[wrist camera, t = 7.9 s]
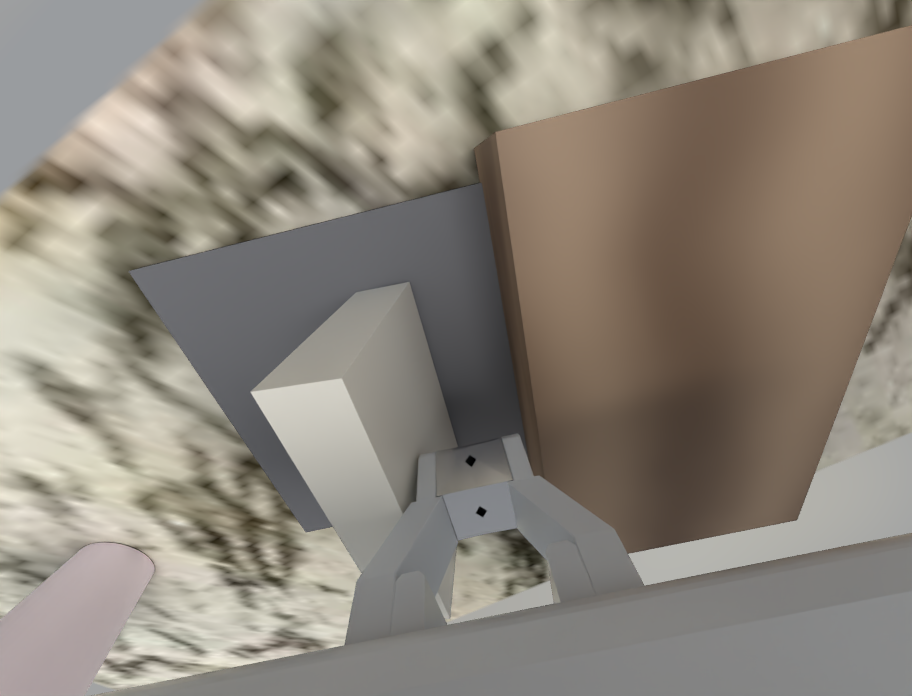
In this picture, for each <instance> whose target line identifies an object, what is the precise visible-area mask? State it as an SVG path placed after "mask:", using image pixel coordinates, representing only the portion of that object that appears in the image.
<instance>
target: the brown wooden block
mask: <svg viewBox="0 0 912 696" xmlns="http://www.w3.org/2000/svg"><path fill="white" fill-rule="evenodd" d="M474 152H475V157H476V163H477V169H478V175H479V181H480V183H482V187H483V193H484V198H485V204H486V210H487V216H488V222H489V228H490V234H491V240H492V246H493V252H494V258H495V264H496V270H497V276H498V281H499V287H500V293H501V299H502V305H503V311H504V317H505V323H506V329H507V335H508V341H509V347H510V353H511V358H512V364H513V370H514V376H515V382H516V388H517V394H518V400H519V406H520V412H521V418H522V424H523V430H524V435H525V441H526V447H527V453H528V459H529V463H530V466H531V469H532V472H533V475H534V476H538V475H540V476H541V477H542V478H544V479H545V480H547V481H548V482H549V483H551V484H552V485H554V486H555V487H556V488H558V489H559V490H561V491H562V492H563V493H565V494H566V495H568V496H569V497H570V498H572V499H573V500H575V501H576V502H577V503H579V504H580V505H582V506H583V507H584V508H586V509H587V510H589V511H590V512H591V513H593V514H594V515H596V516H597V517H598V518H600V519H601V520H603V521H604V522H605V523H607V524H608V525H610V526H611V527H612V528H614V529H615V531H616V533H617V535H618V536H619V538H620V540H621V542H622V544H623V546H624V548H625V550H626V552H627V553H628V554H629V553H634V552H639V551H644V550H649V549H654V548H659V547H664V546H669V545H674V544H679V543H684V542H689V541H694V540H699V539H704V538H709V537H714V536H720V535H724V534H730V533H735V532H740V531H745V530H750V529H755V528H760V527H765V526H770V525H775V524H780V523H785V522H790V521H795V520H797V519H798V516H799V514H800V511H801V508H802V506H803V503H804V500H805V497H806V495H807V492H808V489H809V487H810V484H811V482H812V479H813V476H814V474H815V471H816V468H817V466H818V463H819V461H820V458H821V455H822V453H823V450H824V447H825V445H826V442H827V439H828V437H829V434H830V431H831V429H832V426H833V423H834V421H835V418H836V415H837V413H838V410H839V408H840V405H841V402H842V400H843V397H844V394H845V392H846V389H847V386H848V384H849V381H850V378H851V376H852V373H853V370H854V368H855V365H856V362H857V360H858V357H859V354H860V352H861V349H862V347H863V344H864V341H865V339H866V336H867V333H868V331H869V328H870V325H871V323H872V320H873V317H874V315H875V312H876V309H877V307H878V304H879V301H880V299H881V296H882V294H883V291H884V288H885V286H886V283H887V280H888V278H889V275H890V272H891V270H892V267H893V264H894V262H895V259H896V256H897V254H898V251H899V248H900V246H901V243H902V240H903V238H904V235H905V233H906V230H907V227H908V225H909V222H910V219H911V217H912V25H911V26H907V27H903V28H899V29H895V30H891V31H888V32H884V33H880V34H876V35H872V36H868V37H864V38H860V39H856V40H852V41H849V42H845V43H841V44H837V45H833V46H829V47H825V48H821V49H817V50H813V51H810V52H806V53H802V54H798V55H794V56H790V57H786V58H782V59H778V60H774V61H771V62H767V63H763V64H759V65H755V66H751V67H747V68H743V69H739V70H735V71H732V72H728V73H724V74H720V75H716V76H712V77H708V78H704V79H700V80H696V81H692V82H689V83H685V84H681V85H677V86H673V87H669V88H665V89H661V90H657V91H653V92H650V93H646V94H642V95H638V96H634V97H630V98H626V99H622V100H618V101H614V102H611V103H607V104H603V105H599V106H595V107H591V108H587V109H583V110H579V111H575V112H572V113H568V114H564V115H560V116H556V117H552V118H548V119H544V120H540V121H536V122H533V123H529V124H525V125H521V126H517V127H513V128H509V129H505V130H501V131H497V132H495V133H493V134H492V135H491V136H490V137H488V138H487V139H486V140H484V141H483V142H482V143H480V144H479V145H478V146H477V147H475V148H474Z"/></svg>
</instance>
